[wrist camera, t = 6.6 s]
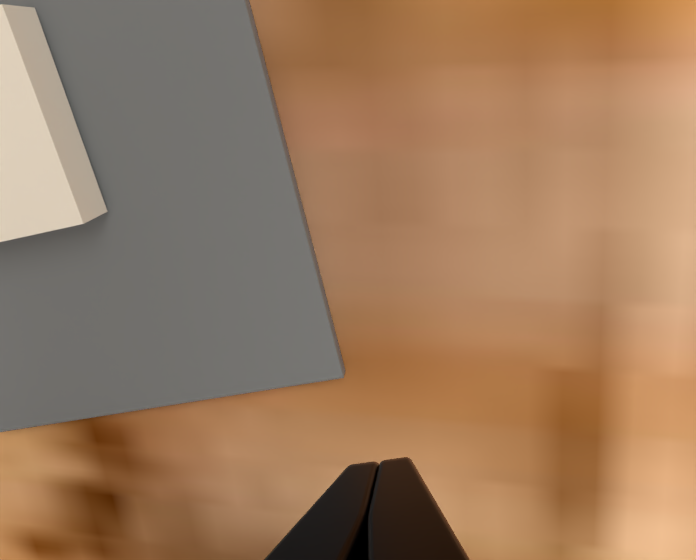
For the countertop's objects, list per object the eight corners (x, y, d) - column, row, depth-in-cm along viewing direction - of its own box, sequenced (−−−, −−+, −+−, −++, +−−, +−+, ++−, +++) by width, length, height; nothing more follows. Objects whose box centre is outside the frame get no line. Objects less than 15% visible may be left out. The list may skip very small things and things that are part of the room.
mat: (345, 370, 22) (343, 377, 21) (-3, 426, 24) (-12, 434, 24) (181, -260, 16) (174, -269, 16) (-249, -106, 19) (-267, -110, 18)
